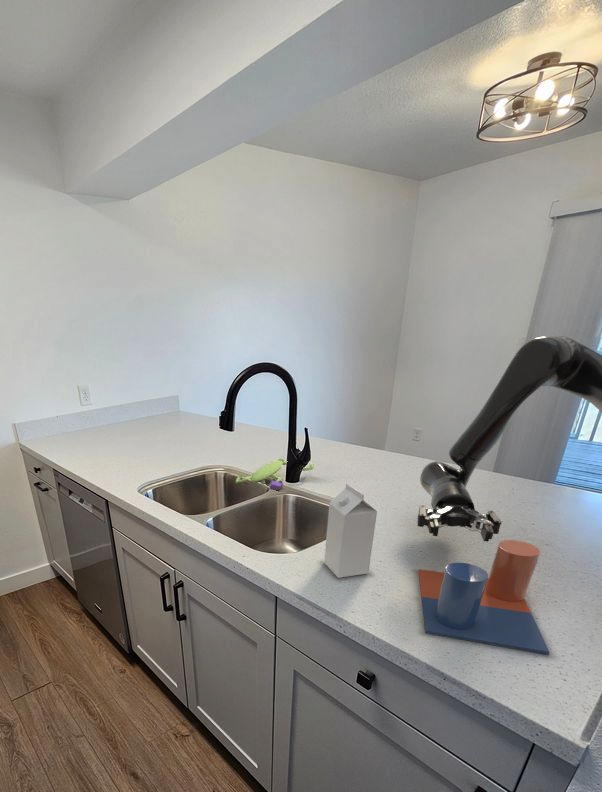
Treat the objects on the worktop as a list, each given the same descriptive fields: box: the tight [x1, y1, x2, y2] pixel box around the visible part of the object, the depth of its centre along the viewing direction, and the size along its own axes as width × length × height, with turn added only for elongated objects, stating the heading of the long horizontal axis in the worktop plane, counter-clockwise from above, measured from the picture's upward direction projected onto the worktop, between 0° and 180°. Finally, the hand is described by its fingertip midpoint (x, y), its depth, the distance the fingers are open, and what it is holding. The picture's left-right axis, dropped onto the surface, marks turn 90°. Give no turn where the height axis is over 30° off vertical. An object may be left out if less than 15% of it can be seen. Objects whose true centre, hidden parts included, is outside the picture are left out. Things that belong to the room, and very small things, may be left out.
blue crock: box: [435, 562, 489, 630], centre depth 77 cm, size 6×6×10 cm
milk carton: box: [323, 483, 378, 579], centre depth 93 cm, size 7×7×19 cm
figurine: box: [235, 458, 315, 491], centre depth 152 cm, size 18×27×6 cm
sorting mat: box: [418, 568, 550, 655], centre depth 82 cm, size 18×22×1 cm
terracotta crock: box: [486, 539, 541, 602], centre depth 83 cm, size 6×6×10 cm
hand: (461, 534), depth 82 cm, fingers open, 8 cm apart
